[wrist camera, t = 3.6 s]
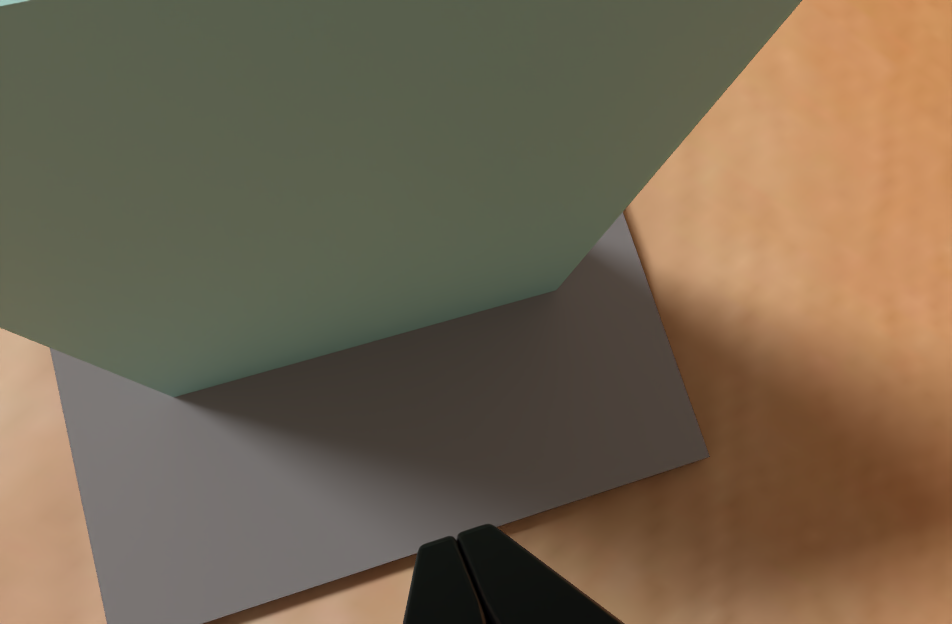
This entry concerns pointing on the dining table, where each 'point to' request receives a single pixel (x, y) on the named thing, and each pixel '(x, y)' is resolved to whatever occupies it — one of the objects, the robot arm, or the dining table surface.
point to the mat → (373, 445)
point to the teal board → (326, 163)
